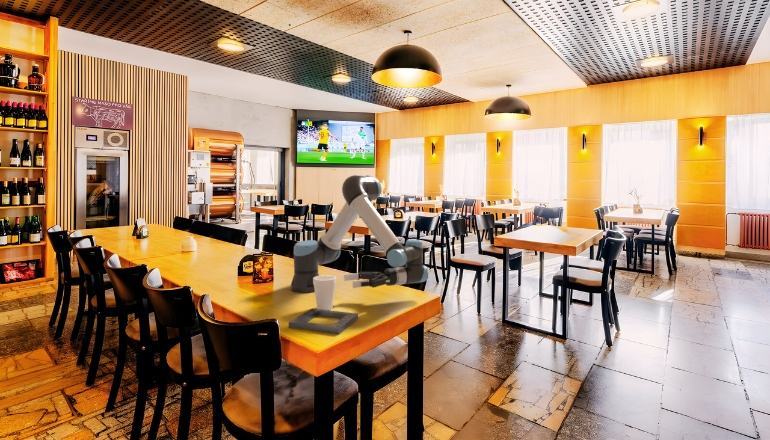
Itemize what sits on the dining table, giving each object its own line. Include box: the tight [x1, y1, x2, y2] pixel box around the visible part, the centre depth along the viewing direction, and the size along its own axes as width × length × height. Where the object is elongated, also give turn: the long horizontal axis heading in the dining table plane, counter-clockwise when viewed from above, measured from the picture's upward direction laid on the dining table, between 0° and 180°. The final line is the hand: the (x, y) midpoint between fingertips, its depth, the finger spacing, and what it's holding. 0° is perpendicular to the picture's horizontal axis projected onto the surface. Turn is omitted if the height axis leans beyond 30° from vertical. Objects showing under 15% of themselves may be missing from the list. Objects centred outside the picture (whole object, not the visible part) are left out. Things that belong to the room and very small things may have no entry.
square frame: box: [288, 308, 359, 335], centre depth 148 cm, size 20×17×2 cm
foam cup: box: [313, 274, 337, 311], centre depth 165 cm, size 10×9×13 cm
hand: (348, 281), depth 168 cm, fingers open, 13 cm apart
